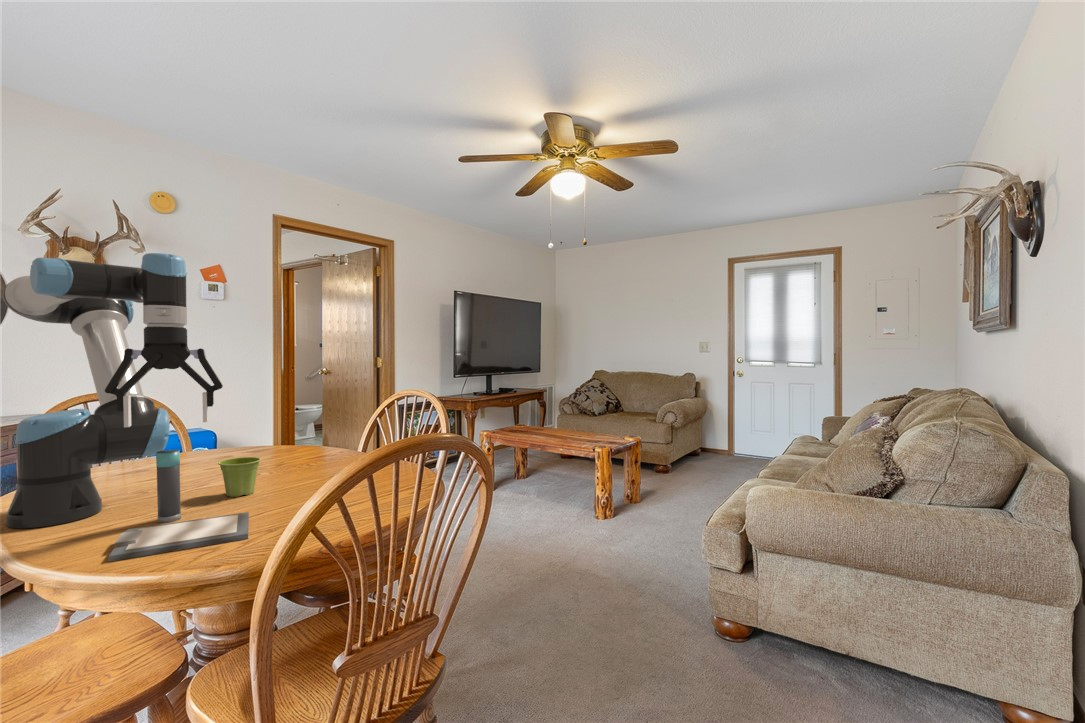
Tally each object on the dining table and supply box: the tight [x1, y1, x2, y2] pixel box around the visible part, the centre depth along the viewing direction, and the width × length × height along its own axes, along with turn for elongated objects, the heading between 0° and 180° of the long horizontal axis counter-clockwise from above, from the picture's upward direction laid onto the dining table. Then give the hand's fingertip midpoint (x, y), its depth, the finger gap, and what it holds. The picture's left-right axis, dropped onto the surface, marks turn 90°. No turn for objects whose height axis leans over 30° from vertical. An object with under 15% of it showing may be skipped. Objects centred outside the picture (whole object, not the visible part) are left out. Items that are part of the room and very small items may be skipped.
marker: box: [155, 449, 182, 524], centre depth 108 cm, size 4×4×15 cm
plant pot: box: [217, 456, 262, 498], centre depth 128 cm, size 9×9×9 cm
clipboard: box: [108, 511, 250, 563], centre depth 98 cm, size 21×15×2 cm
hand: (167, 424), depth 108 cm, fingers open, 13 cm apart
